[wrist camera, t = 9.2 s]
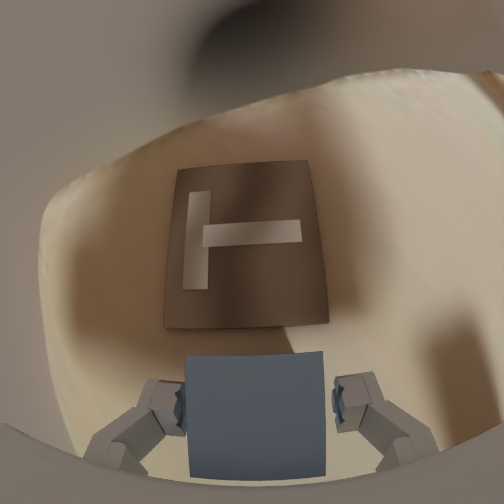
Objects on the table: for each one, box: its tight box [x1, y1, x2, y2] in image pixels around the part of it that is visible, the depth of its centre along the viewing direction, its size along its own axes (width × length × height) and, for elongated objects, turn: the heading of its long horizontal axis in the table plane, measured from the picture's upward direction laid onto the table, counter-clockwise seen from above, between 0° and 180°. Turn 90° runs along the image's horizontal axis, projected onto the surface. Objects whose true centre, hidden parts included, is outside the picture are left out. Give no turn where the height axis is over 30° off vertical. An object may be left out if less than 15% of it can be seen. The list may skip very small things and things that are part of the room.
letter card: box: [164, 160, 330, 329], centre depth 19 cm, size 10×12×1 cm
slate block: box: [185, 351, 326, 481], centre depth 11 cm, size 4×4×9 cm
